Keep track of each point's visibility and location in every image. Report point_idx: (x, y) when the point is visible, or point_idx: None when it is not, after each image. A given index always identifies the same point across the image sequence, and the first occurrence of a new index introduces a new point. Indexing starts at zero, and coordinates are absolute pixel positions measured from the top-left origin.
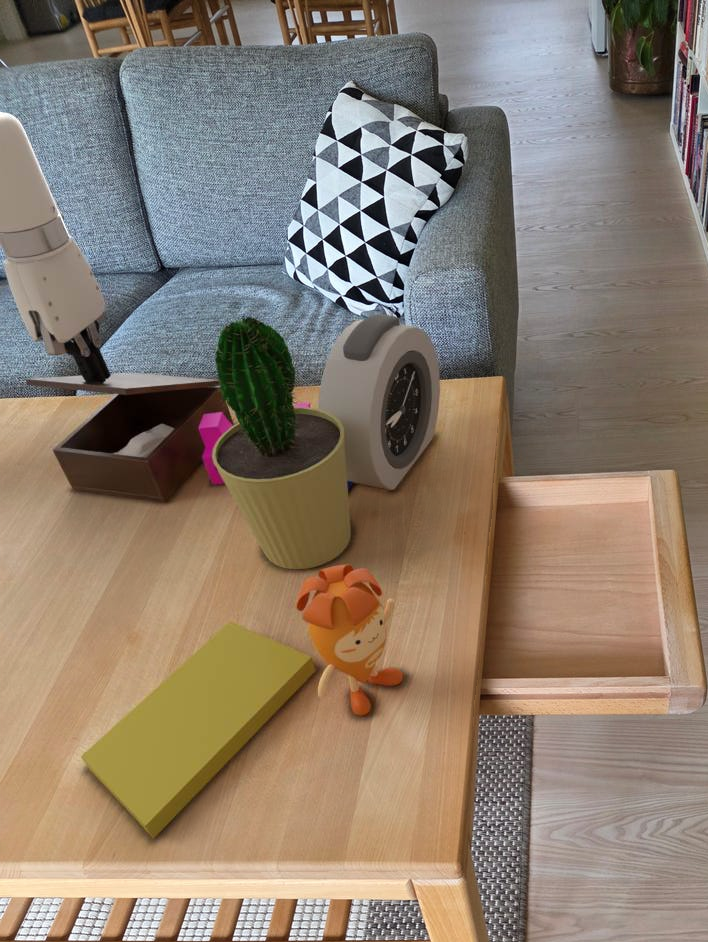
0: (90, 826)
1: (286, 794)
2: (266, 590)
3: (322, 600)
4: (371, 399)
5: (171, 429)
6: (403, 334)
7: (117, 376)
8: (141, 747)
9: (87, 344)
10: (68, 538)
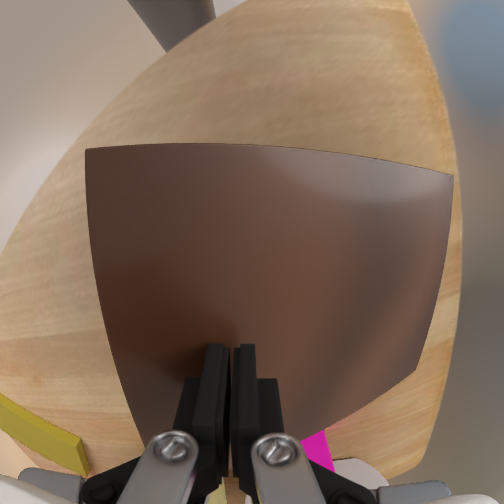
0: None
1: (41, 458)
2: (121, 448)
3: None
4: None
5: None
6: None
7: (393, 238)
8: (3, 417)
9: (245, 485)
10: (83, 239)
